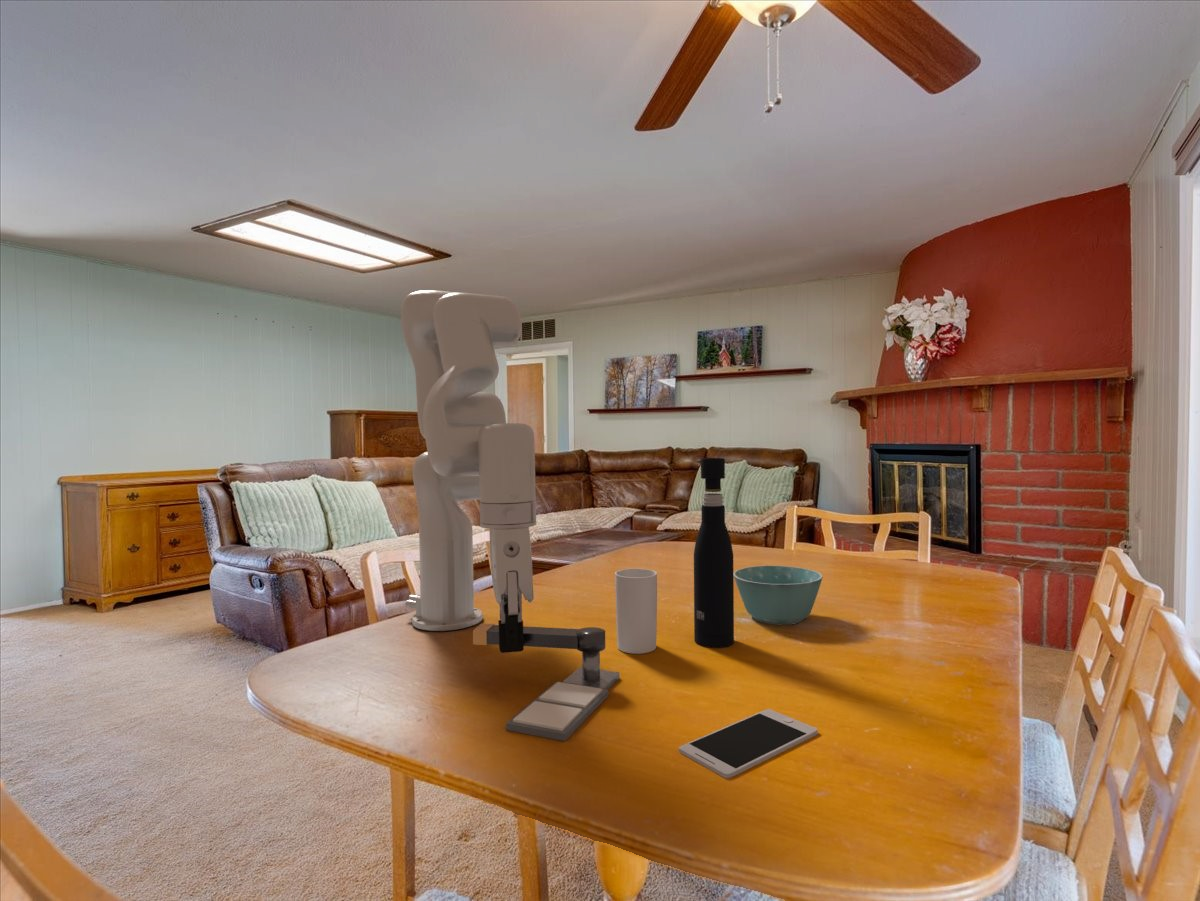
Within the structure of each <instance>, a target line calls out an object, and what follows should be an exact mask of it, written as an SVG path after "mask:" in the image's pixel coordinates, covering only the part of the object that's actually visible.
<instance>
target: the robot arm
mask: <svg viewBox="0 0 1200 901" xmlns="http://www.w3.org/2000/svg"><path fill="white" fill-rule="evenodd" d="M522 320H523V319H522V315H521V312H520V309H519V308H518V305H517V304H516V303H515V301H513V300H512V299H511V298H510V297H507V296H501V295H493V294H492V295H491V294H483V293H481V294H480V293H474V292H473V293H472V292H471V293H469V292H456V291H455V292H454V291H447V290H445V291H444V290H434V289H432V290H431V289H430V290H417V291H414V292H411V293H409V294H407V295H406V296H405V298H404V299H403V301H402V304H401V308H400V321H401V322H400V323H401V330H402V335H403V339H404V341H405V345H406V347H407V350H408V352H409V354H410V357H411V361H412V365H413V367H414V368H413V369H414V372H415V373H414V376H415V389H416V391H415V392H416V407H417V408H416V409H417V410H416V411H417V422H418V429H419V431H420V434H421V436H422V438H424V439H425V444H426V451H425V452H422V453H421V454H420V455H418V456H417V458H415V460H414V462H413V465H412V480H413V486H414V491H415V497H416V503H417V504H416V505H417V516H418V536H419V537H418V541H419V544H418V545H419V549H418V551H419V585H420V586H419V588H420V590H419V592H420V594H409V596H408V598H407V600H406V601H405V604H404V605H405V606H404V607H405V608H408V609H409V608H410V609H415V614H414V615H413V616H412V618H411V624H412V626H413V627H415V628H417V629H419V630H422V631H429V632H447V631H456V630H462V629H466V628H470V627H473V626H475V625H477V624H479V623H480V622H482V620H483V616H484V615H483V611H482V610H480V609H479V608H476V607H475V604H474V603H475V602H474V601H475V599H474V598H475V597H474V587H475V586H474V542H473V541H474V540H473V536H474V534H473V524H472V521H471V519H470V518H469V517H468V515H467V514H466V512H465V511H464V510H463V509H462V508H461V507H460V505H459V504H458V503H459V502H466V501H474V500H476V501H477V500H479V523H480V524H479V527H480V528H483V529H487V530H488V529H489V530H488V531H489V532H488V533H489V556H490V557H489V558H490V559H489V560H490V572H491V582H492V588H493V592H494V597H495V601H496V602H497V604H499V620H498V623H497V624H498V625H499V645H498V649H499V652H500V653H501V654H507V653H518V652H524V649H525V646H524V637H523V626H524V620H523V618H522V617H523V615H522V614H523V605H522V603H523V601H522V600H523V599H522V596H523V598H524V601H527V602H528V603H532V602H533V601H534V598H535V596H534V584H533V583H534V581H533V580H534V579H533V561H532V560H533V557H532V542H531V533H530V532H531V531H530V527H535V526H536V525H537V498H536V497H537V495H536V459H535V458H536V454H535V452H536V451H535V449H536V448H535V446H536V445H535V444H536V442H535V433H534V430H533V428H532V427H531V426H530V425H529V424H526V423H521V422H507V420H506V412H505V408H504V405H503V403H502V401H501V399H500V398H499V396H498V395H496V394H495V393H492V392H488V391H483V390H485V389H487V388H489V387H490V386H491V385H492V384H493V383H494V382H495V381H496V379H497V378H498V375H499V372H500V371H499V370H500V367H499V362H498V359H497V355H496V351H495V348H494V347H504V348H505V347H506V348H510V347H513V346H514V345H517V343H518V341H519V340H520V338H521V335H522V330H523V325H522V324H523V323H522V322H523V321H522Z"/></svg>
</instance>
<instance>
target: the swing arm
mask: <svg viewBox="0 0 1200 901" xmlns="http://www.w3.org/2000/svg"><path fill="white" fill-rule="evenodd" d="M523 637H524V647H530V648H531V647H532V648H533V647H534V648H547V649H548V648H550V649H568V650H569V649H570V650H577V651H579V652H581V653H582V652H587V653H593V652H600V653H601V652H603V651H604V650H605V649H606V630H605V629H604V628H601V627H594V626H591V627H590V626H589V627H587V626H586V627H582V628H567V627H566V628H562V627H561V628H560V627H543V626H541V627H540V626H525V625H523ZM472 645H478V646H479V645H480V646H487V645H491V646H492V645H494V646H496V645H497V646H499V624H495V623H480V624H478V626H476V627H475V628H474V629H473V630H472Z"/></svg>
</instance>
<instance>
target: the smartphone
mask: <svg viewBox="0 0 1200 901" xmlns="http://www.w3.org/2000/svg"><path fill="white" fill-rule="evenodd" d="M818 733H819V729H818V728H817V727H815V726H812V725H810V724H807V723H804V722H802V721H800V720H797V719H795V718H793V717H790V716H788V715H785V714H783V713H780V712H778V711H777V710H776V711H775V710H773V709H771V708H768V709H764V710H761V711H760V712H757V713H754V714H753V715H750V716H747V717H746V718H743V719H741V720H738V721H735V722H733V723H731V724H729V725H727V726H725V727H722V728H720V729H717V730H715V731H713V732H710V733H708V734H706V735H703V736H701V737H699V738H696V739H695V740H692V741H689V742H687V743H685V744H683V745H680V746H678V753H680V754H682V755H683V756H686V757H687V758H688V759H690V760H693V762H695V763H698V764H699V765H701V766H703V767H705V768H706V769H708V770H710V771H712V772H714V773H715V774H717V775H719V776H720V777H722V778H724V779H730V778H733V777H735V776H737V775H739V774H741V773H744V772H745V771H747V770H749V769H751V768H753V767H755V766H757V765H759V764H762V763H763V762H765V761H767V760H769V759H771V758H773V757H775V756H777V755H779V754H781V753H783V752H785V751H787V750H789V749H791V748H793V747H795V746H797V745H799V744H802V743H803V742H806V741H808V740H809V739H811V738H813V737H815V736H817V735H818Z"/></svg>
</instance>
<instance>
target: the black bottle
mask: <svg viewBox="0 0 1200 901" xmlns="http://www.w3.org/2000/svg"><path fill="white" fill-rule="evenodd" d="M725 463H726V459H725V458H724V457H703V458H701V459H700V479H703V480H704V481H705V482H704V485H705V486H704V491H705V492H707V493H703V496H702V499H703V500H702V503H703V504H702V505H701V523H700V526H699V529H698V531H697V535H696V539H695V543H694V544H695V545H694V549H693V550H694V551H693V608H694V609H693V611H694V612H693V615H694V616H693V626H694V627H693V628H694V629H693V630H694V632H693V634H694V640H693V641H694V642H695V643H696V644H697V645H699V646H701V647H705V648H713V649H714V648H715V649H718V648H726V647H730V646H732V645H733V644H734V643H735V627H734V626H735V624H734V623H735V622H734V621H735V612H734V611H735V610H734V608H735V605H734V602H735V601H734V597H735V595H734V589H735V586H734V581H735V578H734V575H733V574H734V552H733V546H732V541H731V537H730V534H729V531H728V527H727V526H726V516H725V515H726V514H725V513H726V511H725V510H726V507H725V505H724V504H723V503H724V501H723V499H724V496H723V493H718V492H721V491H722V488H721V480H722V479H723V480H724V479H725V478H726V466H725V465H726V464H725Z"/></svg>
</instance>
